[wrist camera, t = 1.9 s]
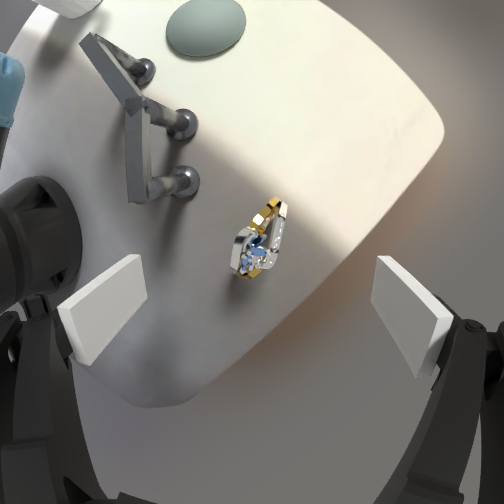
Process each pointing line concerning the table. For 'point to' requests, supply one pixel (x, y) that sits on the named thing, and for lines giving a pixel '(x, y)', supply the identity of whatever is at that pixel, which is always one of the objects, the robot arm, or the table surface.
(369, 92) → the table surface
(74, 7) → the mug
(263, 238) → the ring
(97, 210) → the table surface
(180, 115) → the bent grey rail
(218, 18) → the felt coaster
